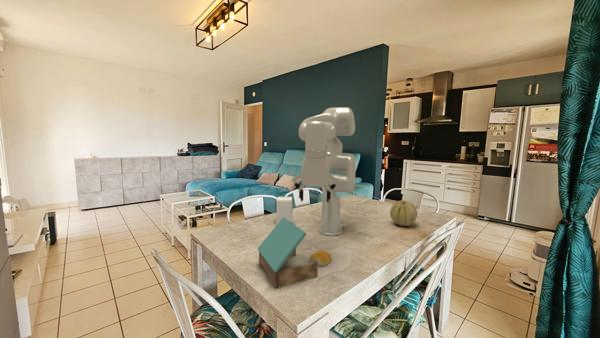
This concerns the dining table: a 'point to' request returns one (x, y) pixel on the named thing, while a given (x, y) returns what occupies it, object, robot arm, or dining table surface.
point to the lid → (281, 243)
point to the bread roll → (320, 258)
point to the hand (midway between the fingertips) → (314, 200)
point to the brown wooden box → (289, 272)
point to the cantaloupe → (403, 213)
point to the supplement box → (283, 209)
